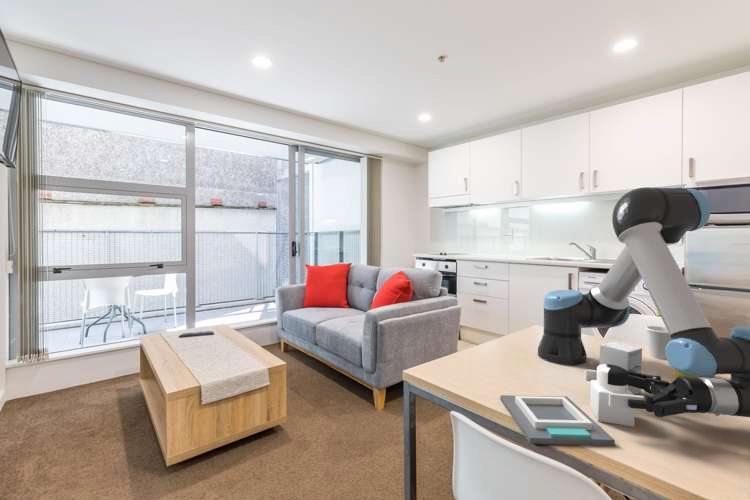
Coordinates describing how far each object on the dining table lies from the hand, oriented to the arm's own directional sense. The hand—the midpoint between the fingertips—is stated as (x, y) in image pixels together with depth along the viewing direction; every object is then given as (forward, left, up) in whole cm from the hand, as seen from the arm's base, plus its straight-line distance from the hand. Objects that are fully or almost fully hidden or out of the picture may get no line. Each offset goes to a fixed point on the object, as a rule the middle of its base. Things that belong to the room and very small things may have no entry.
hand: (596, 386), depth 82 cm
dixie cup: (-41, +46, -7) cm, 63 cm away
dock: (+3, -12, -7) cm, 14 cm away
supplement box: (-13, +14, -7) cm, 21 cm away
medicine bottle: (+1, +3, -7) cm, 8 cm away
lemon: (-17, +35, -7) cm, 40 cm away
